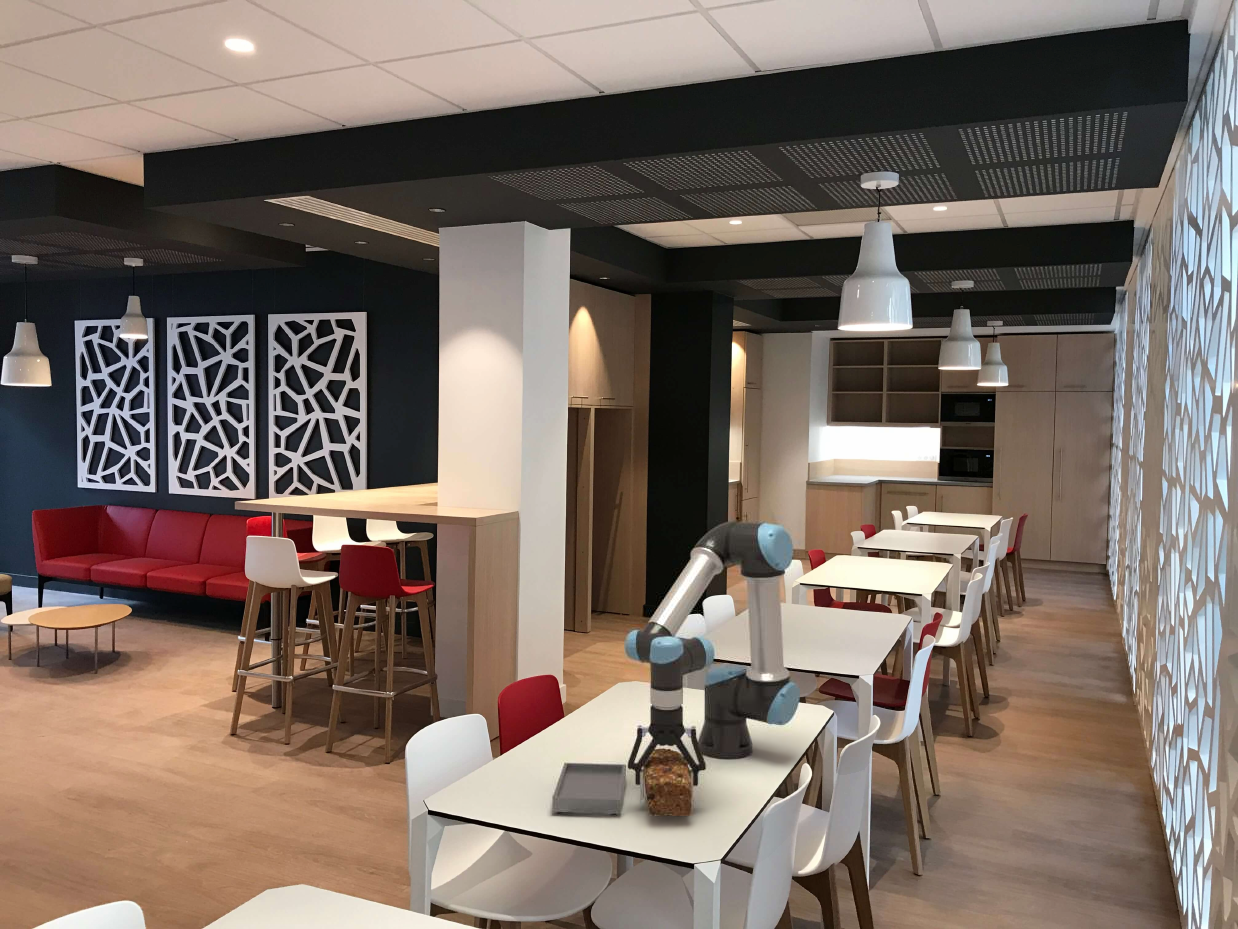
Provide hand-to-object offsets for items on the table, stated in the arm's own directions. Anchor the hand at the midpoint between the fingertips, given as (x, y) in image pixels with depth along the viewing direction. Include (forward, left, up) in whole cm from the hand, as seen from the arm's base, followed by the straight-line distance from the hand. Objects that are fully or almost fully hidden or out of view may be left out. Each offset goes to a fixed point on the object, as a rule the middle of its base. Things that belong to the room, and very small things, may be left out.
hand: (666, 798), depth 223 cm
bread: (0, 0, -1) cm, 1 cm away
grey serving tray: (+18, -7, -3) cm, 20 cm away
